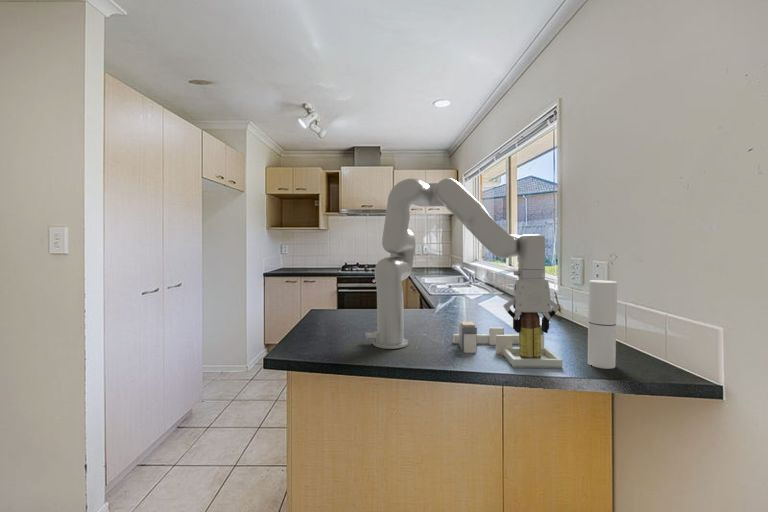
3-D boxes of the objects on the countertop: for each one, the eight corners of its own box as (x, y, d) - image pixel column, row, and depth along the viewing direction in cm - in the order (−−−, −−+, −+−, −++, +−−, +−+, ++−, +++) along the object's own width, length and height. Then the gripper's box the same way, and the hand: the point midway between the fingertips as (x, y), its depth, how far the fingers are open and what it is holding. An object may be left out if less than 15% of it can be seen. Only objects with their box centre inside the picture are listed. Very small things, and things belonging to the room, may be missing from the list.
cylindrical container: (584, 364, 109) (585, 281, 108) (591, 358, 114) (593, 279, 113) (611, 370, 104) (613, 283, 103) (618, 364, 109) (619, 281, 108)
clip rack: (459, 355, 119) (459, 328, 118) (453, 342, 134) (453, 318, 134) (553, 356, 117) (554, 329, 116) (536, 342, 132) (536, 318, 132)
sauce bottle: (537, 356, 115) (538, 293, 114) (544, 363, 109) (545, 297, 108) (516, 355, 116) (516, 293, 115) (521, 362, 109) (522, 296, 108)
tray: (513, 367, 106) (513, 359, 106) (502, 355, 118) (502, 347, 118) (562, 368, 106) (562, 360, 106) (546, 355, 118) (546, 347, 118)
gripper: (505, 275, 108) (505, 334, 108) (566, 275, 107) (565, 335, 107) (499, 273, 115) (498, 328, 116) (555, 273, 114) (554, 329, 115)
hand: (530, 331), depth 112 cm, fingers open, 7 cm apart
